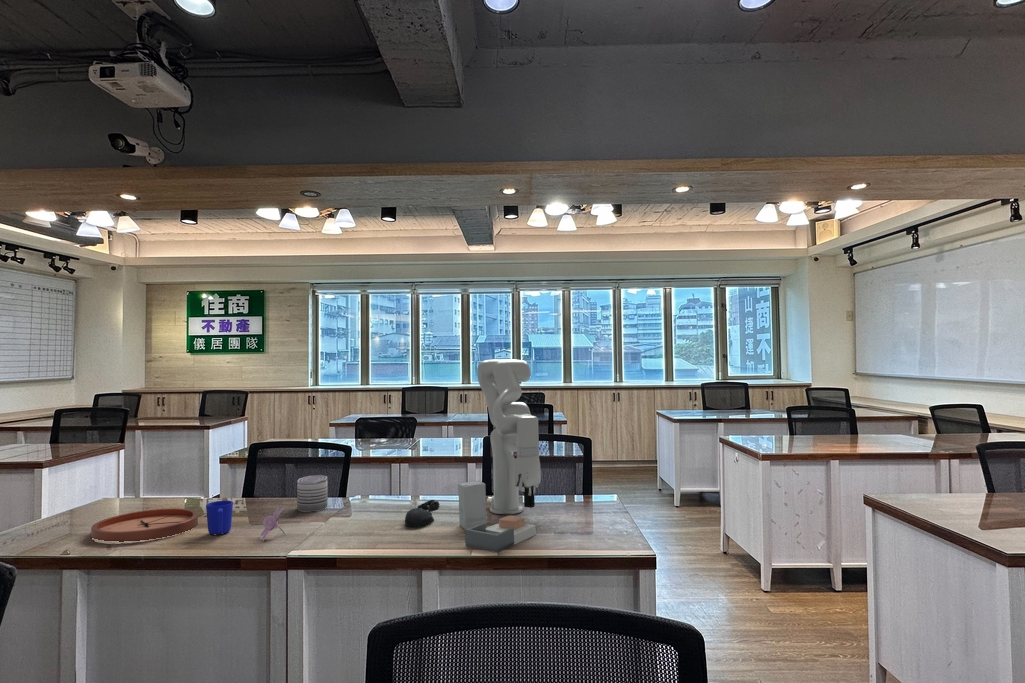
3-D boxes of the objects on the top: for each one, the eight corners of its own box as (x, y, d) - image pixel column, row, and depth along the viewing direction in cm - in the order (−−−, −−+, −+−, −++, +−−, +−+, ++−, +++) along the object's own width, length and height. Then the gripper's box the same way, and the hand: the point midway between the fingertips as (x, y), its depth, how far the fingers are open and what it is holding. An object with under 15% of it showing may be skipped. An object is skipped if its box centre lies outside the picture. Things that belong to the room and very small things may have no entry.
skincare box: (480, 522, 210) (479, 479, 210) (487, 526, 204) (486, 483, 205) (458, 525, 206) (457, 482, 206) (464, 529, 201) (463, 485, 201)
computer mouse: (401, 529, 203) (401, 513, 203) (420, 506, 236) (420, 492, 236) (428, 529, 203) (428, 513, 203) (444, 506, 235) (444, 492, 235)
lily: (267, 534, 202) (253, 512, 199) (300, 519, 203) (286, 497, 200) (261, 556, 191) (246, 533, 188) (295, 540, 192) (281, 517, 189)
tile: (499, 527, 193) (498, 519, 193) (509, 522, 197) (509, 515, 198) (514, 529, 189) (514, 522, 189) (524, 525, 194) (524, 517, 194)
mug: (206, 541, 192) (206, 510, 192) (205, 531, 203) (206, 502, 203) (234, 537, 196) (234, 506, 196) (232, 528, 206) (232, 499, 207)
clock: (67, 529, 195) (149, 506, 225) (67, 541, 195) (149, 517, 225) (143, 535, 186) (218, 510, 217) (143, 548, 186) (218, 522, 216)
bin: (465, 546, 183) (465, 529, 183) (483, 538, 190) (483, 522, 191) (496, 552, 176) (496, 535, 176) (514, 544, 184) (513, 528, 184)
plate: (483, 538, 190) (483, 529, 191) (505, 529, 201) (505, 520, 201) (514, 544, 184) (514, 534, 184) (535, 534, 194) (535, 525, 194)
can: (333, 507, 235) (333, 476, 235) (310, 513, 225) (310, 481, 225) (314, 503, 241) (314, 474, 241) (290, 509, 231) (290, 478, 232)
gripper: (530, 449, 210) (532, 501, 209) (506, 454, 198) (507, 510, 197) (548, 450, 206) (550, 503, 205) (525, 455, 194) (526, 512, 193)
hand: (529, 506), depth 201 cm, fingers closed
